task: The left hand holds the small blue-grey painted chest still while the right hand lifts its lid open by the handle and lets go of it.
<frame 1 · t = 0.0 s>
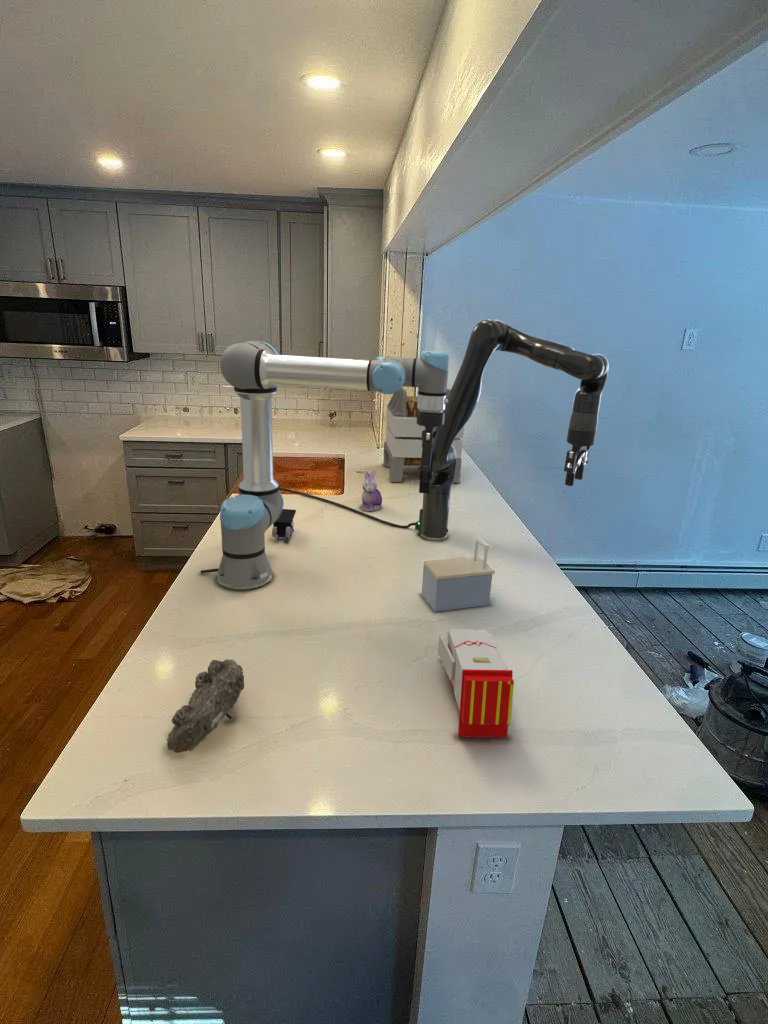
left hand: (425, 485, 160), 28 cm above the counter, tool pointing down, fingers open, 13 cm apart
right hand: (573, 482, 165), 29 cm above the counter, tool pointing down, fingers open, 8 cm apart
black wheeled block: (284, 535, 194), on the counter
grey crate: (419, 473, 275), on the counter
fossil: (212, 717, 108), on the counter
lid: (460, 555, 152), point 13 cm above the counter, hinge at 0.0°
toy: (469, 691, 119), on the counter
figurine: (371, 508, 224), on the counter
chest: (454, 599, 156), on the counter
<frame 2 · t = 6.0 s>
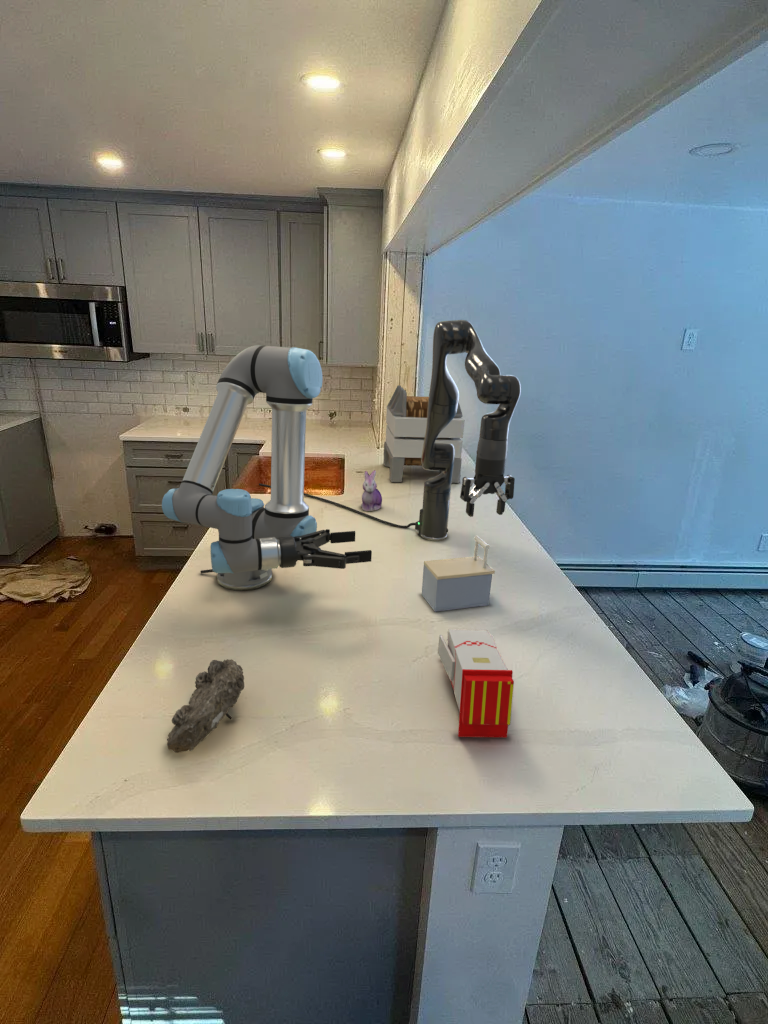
left hand: (362, 545, 143), 18 cm above the counter, tool horizontal, fingers open, 13 cm apart
right hand: (484, 514, 150), 25 cm above the counter, tool pointing down, fingers open, 8 cm apart
nothing on the counter moved.
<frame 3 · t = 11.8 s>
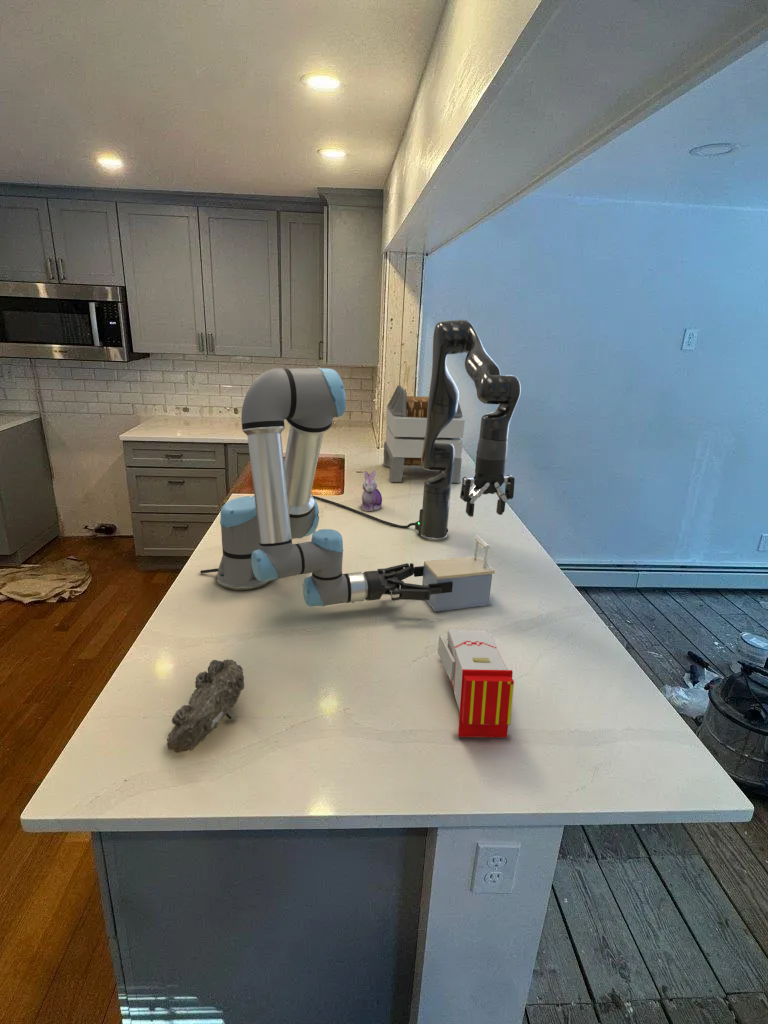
left hand: (443, 578, 153), 7 cm above the counter, tool horizontal, fingers closed on chest, 10 cm apart
right hand: (484, 514, 150), 25 cm above the counter, tool pointing down, fingers open, 8 cm apart
chest: (454, 599, 156), on the counter, touching left hand
everything else where it was.
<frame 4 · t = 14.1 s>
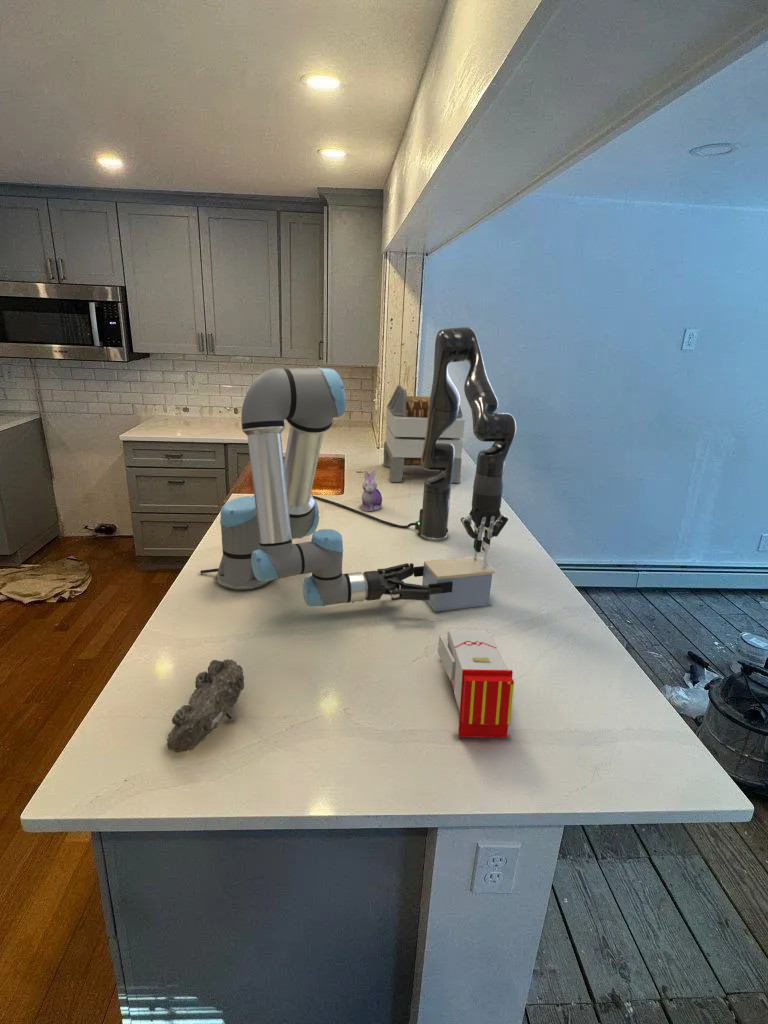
left hand: (443, 578, 153), 7 cm above the counter, tool horizontal, fingers closed on chest, 10 cm apart
right hand: (481, 550, 153), 14 cm above the counter, tool pointing down, fingers closed
lid: (460, 555, 152), point 13 cm above the counter, hinge at -0.1°, touching right hand
chest: (454, 599, 156), on the counter, touching left hand
everything else where it was.
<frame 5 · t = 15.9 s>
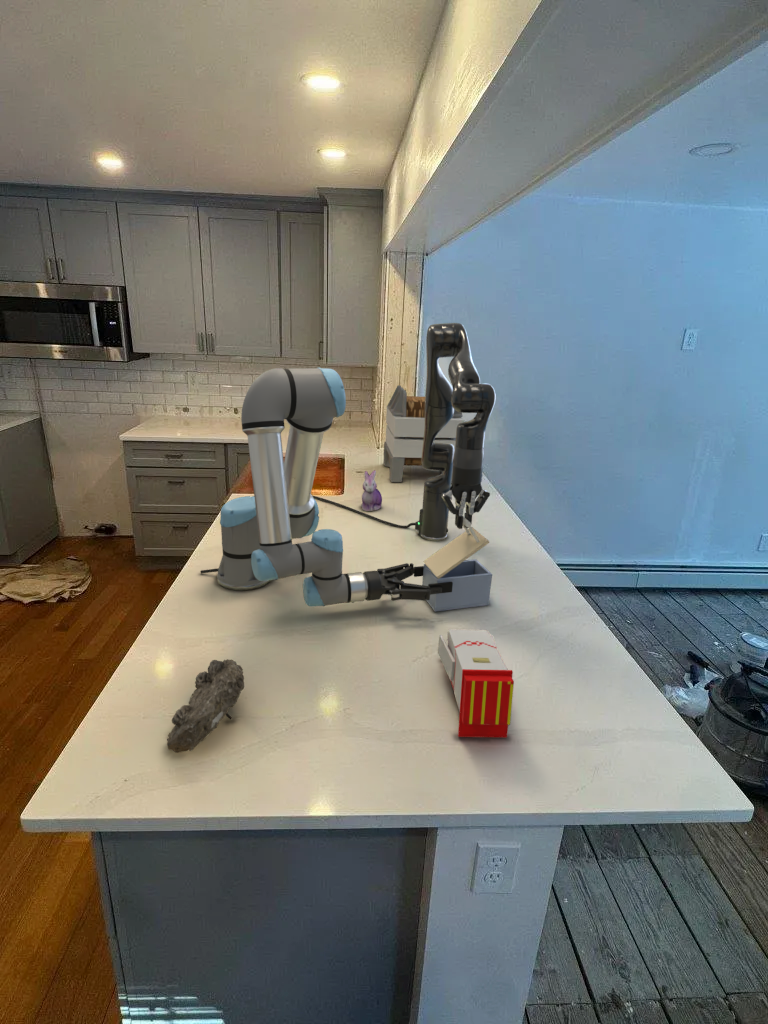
left hand: (443, 577, 153), 7 cm above the counter, tool horizontal, fingers closed on chest, 10 cm apart
right hand: (463, 527, 149), 21 cm above the counter, tool pointing down, fingers closed
lid: (449, 542, 149), point 17 cm above the counter, hinge at 33.8°, touching right hand
chest: (454, 599, 156), on the counter, touching left hand
everything else where it was.
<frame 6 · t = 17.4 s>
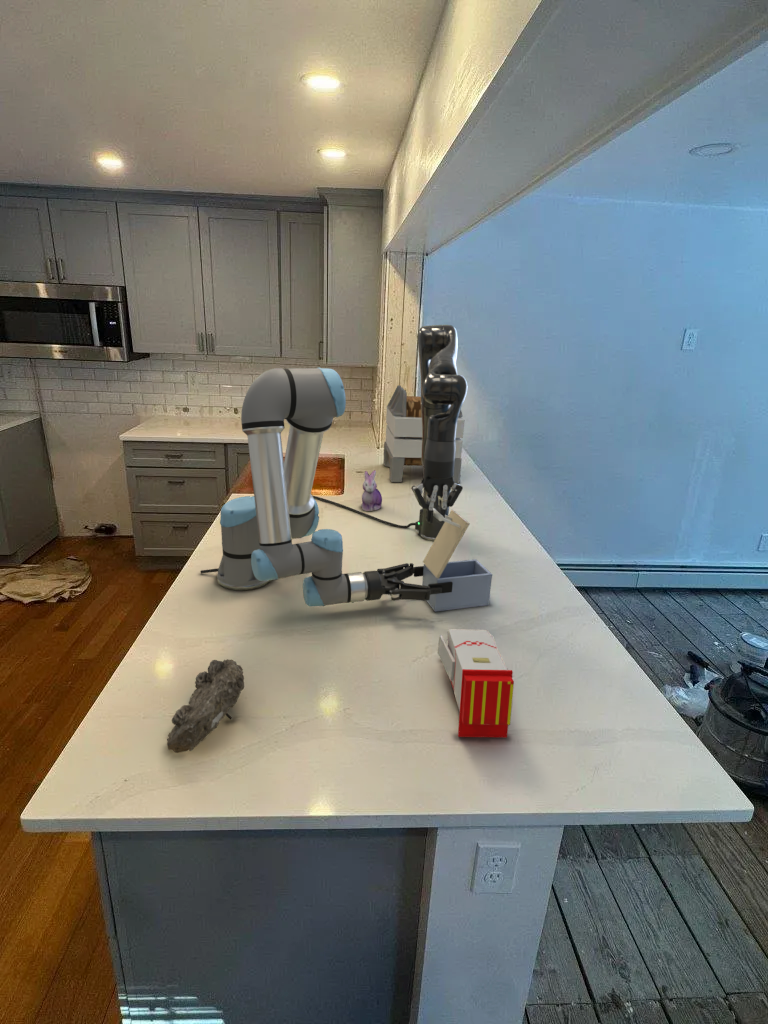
left hand: (443, 578, 153), 7 cm above the counter, tool horizontal, fingers closed on chest, 10 cm apart
right hand: (434, 522, 146), 24 cm above the counter, tool pointing down, fingers closed
lid: (434, 538, 148), point 19 cm above the counter, hinge at 63.6°, touching right hand
chest: (454, 599, 156), on the counter, touching left hand
everything else where it was.
when the left hand's fingers open (7 cm above the counter, at t = 21.3 s): chest stays where it is, on the counter.
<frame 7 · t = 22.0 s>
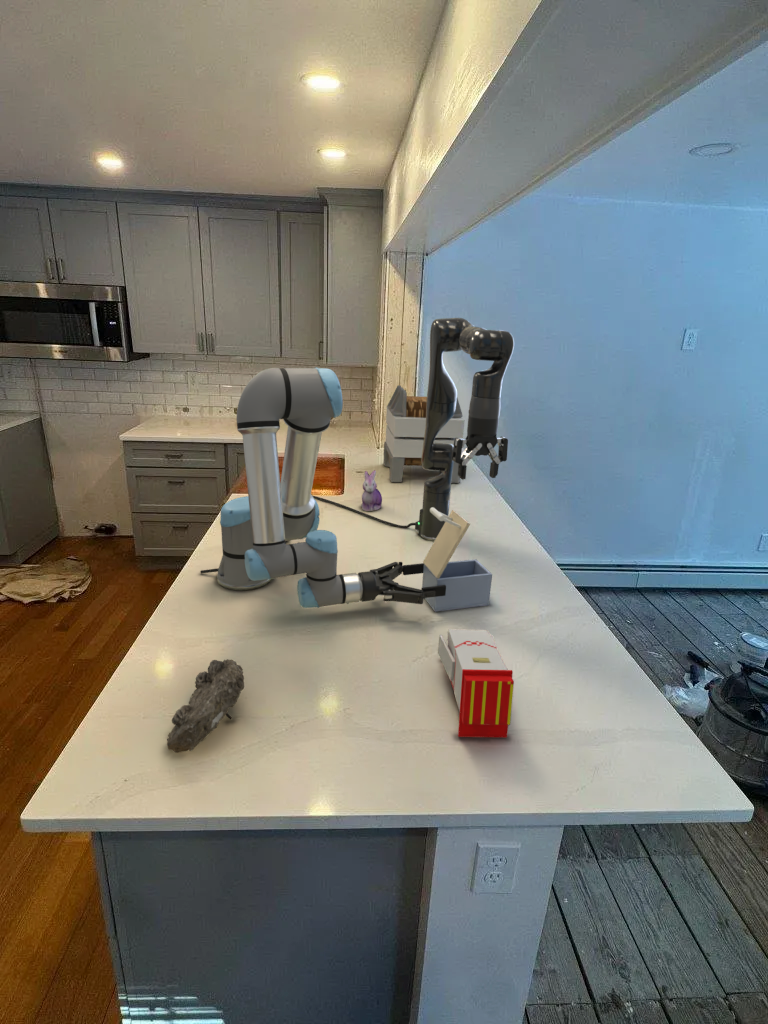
left hand: (435, 578, 152), 7 cm above the counter, tool horizontal, fingers open, 13 cm apart
right hand: (477, 477, 145), 35 cm above the counter, tool pointing down, fingers open, 8 cm apart
lid: (435, 538, 148), point 19 cm above the counter, hinge at 63.1°
chest: (454, 599, 156), on the counter
everything else where it was.
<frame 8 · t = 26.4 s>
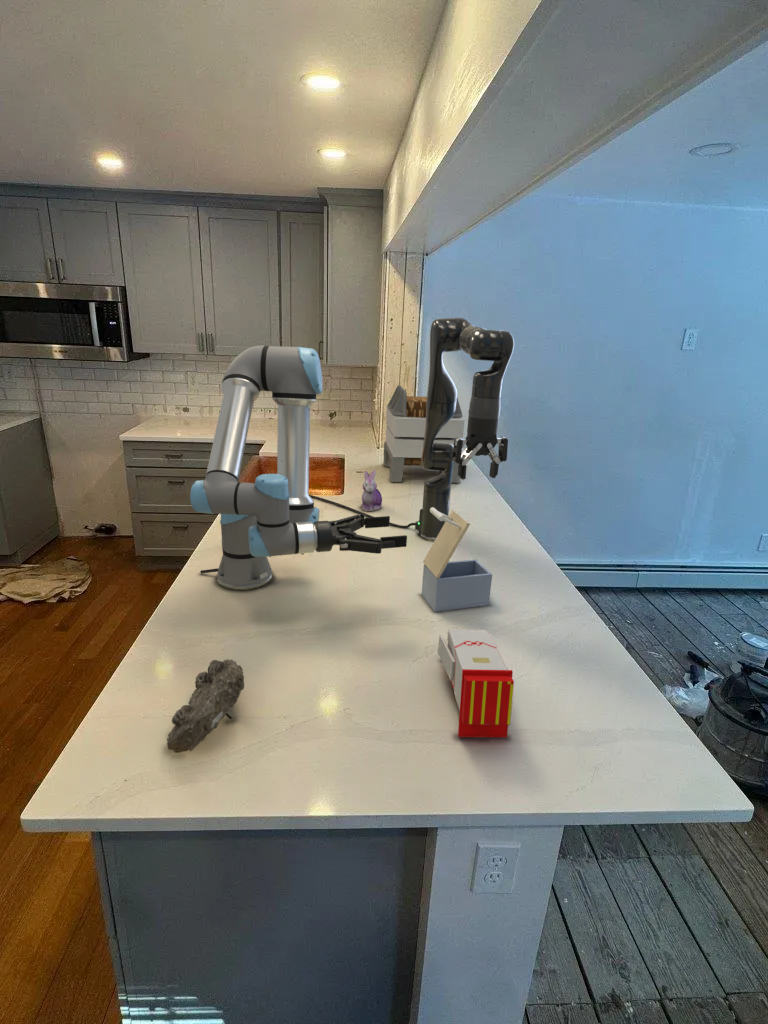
left hand: (397, 530, 143), 22 cm above the counter, tool horizontal, fingers open, 13 cm apart
right hand: (477, 477, 145), 35 cm above the counter, tool pointing down, fingers open, 8 cm apart
nothing on the counter moved.
at the end: lid at +63° (first picture: +0°); the left hand is holding nothing; the right hand is holding nothing; chest tilted 0°; chest never tilted more than 1° during the clip; chest moved 0.0 cm from its start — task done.
